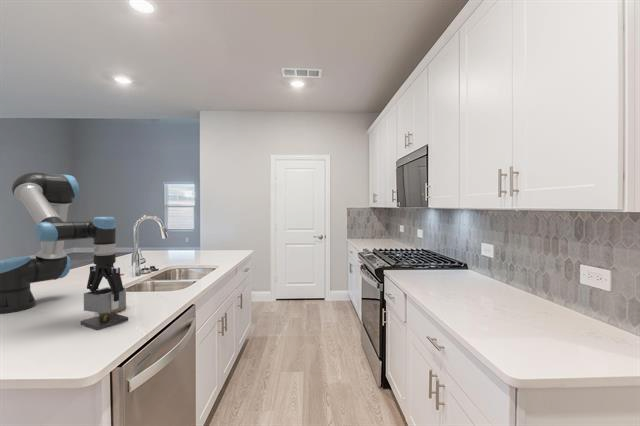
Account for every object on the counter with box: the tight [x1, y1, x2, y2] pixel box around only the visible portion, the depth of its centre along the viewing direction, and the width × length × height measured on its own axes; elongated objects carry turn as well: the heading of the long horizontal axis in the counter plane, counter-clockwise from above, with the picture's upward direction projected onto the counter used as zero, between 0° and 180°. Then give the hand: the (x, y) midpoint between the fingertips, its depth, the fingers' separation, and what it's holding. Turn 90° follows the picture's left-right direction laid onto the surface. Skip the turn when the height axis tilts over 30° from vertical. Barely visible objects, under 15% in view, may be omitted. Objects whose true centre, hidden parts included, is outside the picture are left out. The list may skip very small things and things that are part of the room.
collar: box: [83, 286, 125, 314], centre depth 129 cm, size 10×10×7 cm
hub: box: [80, 311, 129, 331], centre depth 129 cm, size 12×12×9 cm
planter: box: [110, 286, 127, 314], centre depth 144 cm, size 11×11×10 cm
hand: (104, 307), depth 129 cm, fingers closed on collar, 10 cm apart
